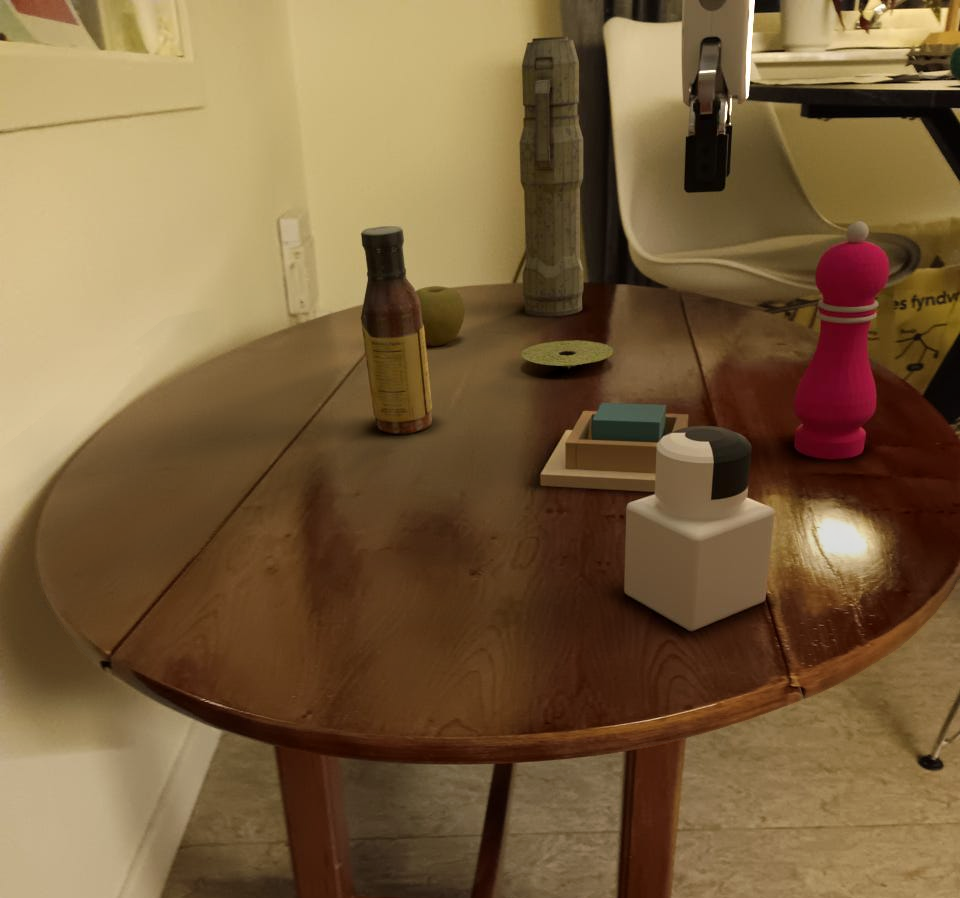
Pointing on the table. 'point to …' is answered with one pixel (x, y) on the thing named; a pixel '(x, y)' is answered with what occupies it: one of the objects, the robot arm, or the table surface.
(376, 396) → the sauce bottle
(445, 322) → the apple
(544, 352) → the green disc with hole
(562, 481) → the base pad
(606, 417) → the teal block
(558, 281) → the thermos
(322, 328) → the table surface
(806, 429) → the pepper mill
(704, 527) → the medicine bottle
